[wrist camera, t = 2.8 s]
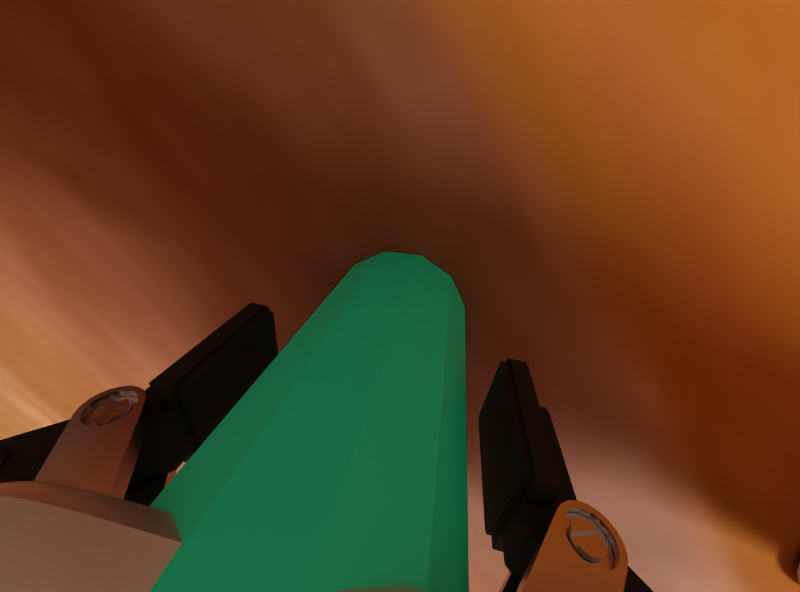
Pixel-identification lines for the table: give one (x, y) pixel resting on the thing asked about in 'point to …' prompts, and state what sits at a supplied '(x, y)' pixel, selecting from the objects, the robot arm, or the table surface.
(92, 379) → the table surface
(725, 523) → the table surface
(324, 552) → the candle
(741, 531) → the table surface
